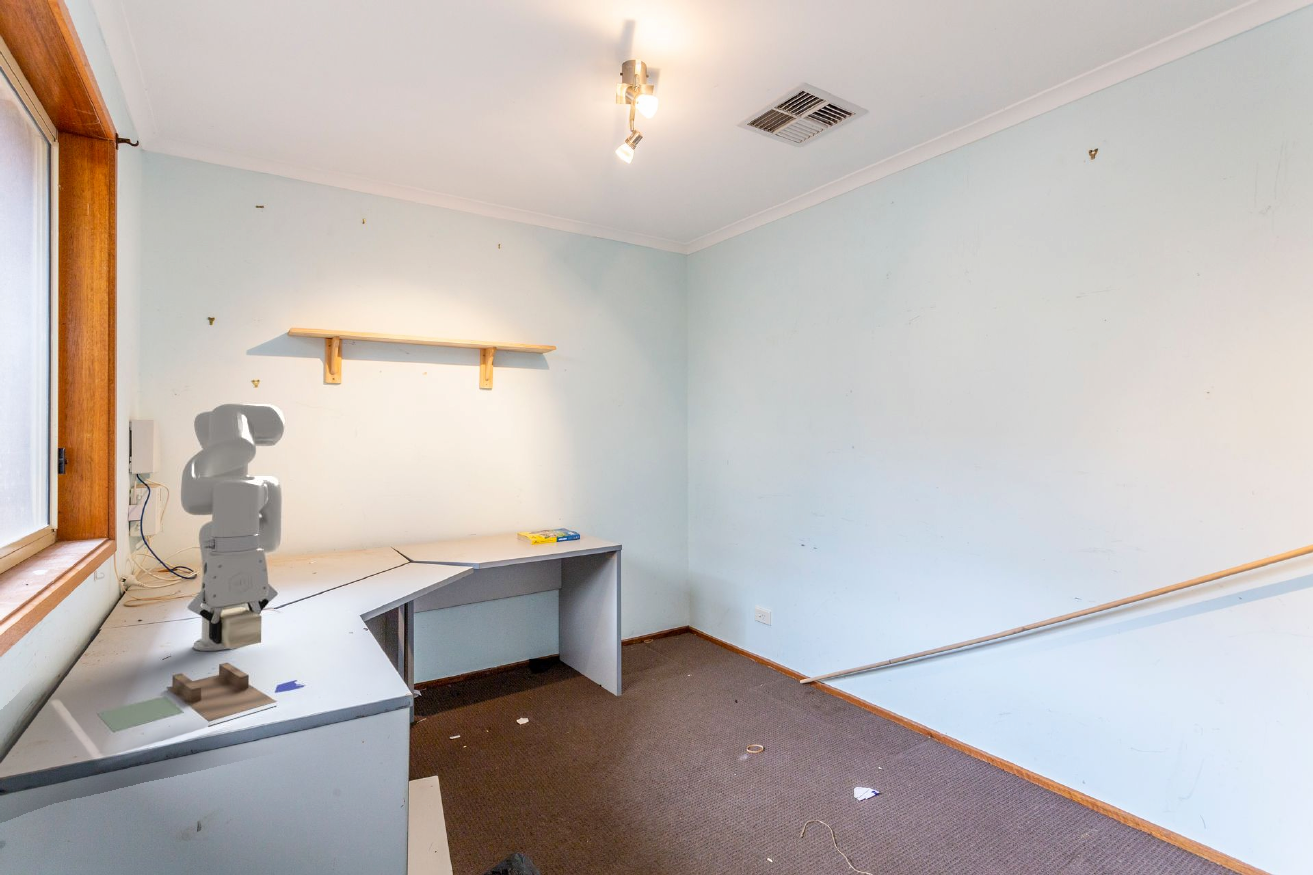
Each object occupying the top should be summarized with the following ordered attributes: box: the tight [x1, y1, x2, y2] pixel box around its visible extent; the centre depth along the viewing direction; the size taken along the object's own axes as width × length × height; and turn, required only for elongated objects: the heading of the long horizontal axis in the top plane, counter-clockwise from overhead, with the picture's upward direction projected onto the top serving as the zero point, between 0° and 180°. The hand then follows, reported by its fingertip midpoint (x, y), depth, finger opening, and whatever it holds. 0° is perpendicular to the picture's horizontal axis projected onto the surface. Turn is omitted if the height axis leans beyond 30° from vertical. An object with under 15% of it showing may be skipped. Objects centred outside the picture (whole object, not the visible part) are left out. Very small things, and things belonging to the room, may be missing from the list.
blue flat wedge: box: [274, 679, 306, 694], centre depth 130 cm, size 2×8×12 cm
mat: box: [97, 695, 185, 733], centre depth 113 cm, size 12×10×1 cm
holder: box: [166, 662, 277, 728], centre depth 122 cm, size 25×11×4 cm, turn 52°
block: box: [220, 607, 263, 650], centre depth 117 cm, size 10×5×5 cm, turn 52°
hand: (234, 637), depth 118 cm, fingers closed on block, 5 cm apart
